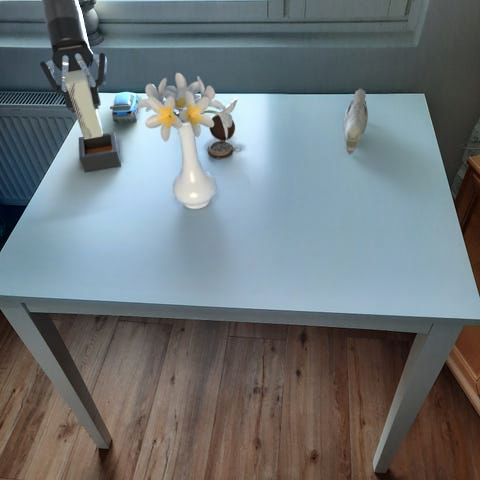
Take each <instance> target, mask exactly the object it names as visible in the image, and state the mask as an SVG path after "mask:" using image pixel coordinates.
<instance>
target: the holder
mask: <svg viewBox="0 0 480 480" xmlns="http://www.w3.org/2000/svg"><path fill="white" fill-rule="evenodd" d="M78 158H79V162H80V164H81V166H82V169H83V173H84V174H86V173H92V172H99V171H104V170H110V169H115V168H121V167H122V162H121V153H120V146H119V143H118V139H117V135H116V132H115V131H111V132H103V136H101V137H96V138H90V139H84V137H83V136H80V137H78Z"/></svg>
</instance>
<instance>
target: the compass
mask: <svg viewBox="0 0 480 480" xmlns="http://www.w3.org/2000/svg"><path fill="white" fill-rule="evenodd" d="M211 119H212V120H213V122H214V126H213V127H211V128H210V127H208V129H209V132H210V134H211V135H212V137H213V138H215V139H216V140H219V141H214V142H213V143H211V144H209V146H208V147H207V148H206V150H207V154H208V156H209V157H211V158H212V159H216V160H224V159H227V158H229V157H230V156H232V155H233V153H236V152H237V153H240V152H241V151H242V148H241V147H234V146H233V144H232V143H230V142H227V141H229V140H230V139H231V138H233V136H234V135H235V132H236V124H235V120H233V119H232V126H231V127H229V128H228V137H227V140H226V135H225V131H224V127H223V124H222V121H221V118H220V116H219V115H217V114H214V115H213V116H212V117H211ZM237 149H239V150H238V151H237Z"/></svg>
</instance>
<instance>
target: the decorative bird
mask: <svg viewBox="0 0 480 480" xmlns="http://www.w3.org/2000/svg"><path fill="white" fill-rule="evenodd" d="M366 94H367V92H366V90H364V89H363V88H358V90H357V89H356V90H355V93H354V94H353V99H352V100H351V102H350V104H349V105H348V107H347V109H346V111H345V115H344V118H343V126H342V127H343V132H344V142H345V148H346V151H347V153H348V154H349V155H351V154H353V152H354V151H356V149H357V146H358V144H359V143H360V141H361V137H362V135H363V134H364V133H365V131H366V129H367V125H368V118H369V111H368V106H367V101H366V97H367V96H366Z"/></svg>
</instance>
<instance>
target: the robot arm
mask: <svg viewBox="0 0 480 480" xmlns="http://www.w3.org/2000/svg"><path fill="white" fill-rule="evenodd" d="M41 2H42V10H43V16H44V20H45V25H46V29H47V33H48V37H49V43H50V45H51V50H52V55H51V59H50V60H48V61H46V62H45V61H43V60H42V61H40V63H39V66H40V68H41V69H42V71H43V73H44V75H45V77H46V78H47V80H48V82H49V84H50V86H51V87H52V89H53V90H54V92H55V93H56V94H59V95H60V94H61V95H62V96H63V99H64V103H65V107H66V109H68V111H70V112H71V113H72V114H74V113H75V111H74V108H73V105H72V102H71V98H70V96H69V93H68V90H67V87H66V84H65V72H66V73H67V72H71V71H77V70H85V72H86V75H87V79H88V82H89V84H90V91H91V95H92V100H93V104H94V107H95V109H97V110H99V108H100V106H101V105H102V101H101V97H100V93H99V90H100V89H101V88H105V87H106V83H107V70H108V69H107V68H108V67H107V66H108V60H107V57H106V54H105V53H103V52H100V53H99V54H98V53H93V51H92V49H91V48H90V44H89V40H88V36H87V31H86V26H85V20H84V17H83V12H82V9H81V7H80V4H79V0H41ZM94 62H95V64H96V66H97V67H98V69H97V71H98V73H97V74H98V75H97V79H94V77H93V75H92V73H91V72H90V69H91V68H92V65H93V63H94ZM55 67H56V68H57V69H58V70H59V71H60V72H61V84H58V81H57V80H56V78H55V77H54V75H53V74H54V73H55Z"/></svg>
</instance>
